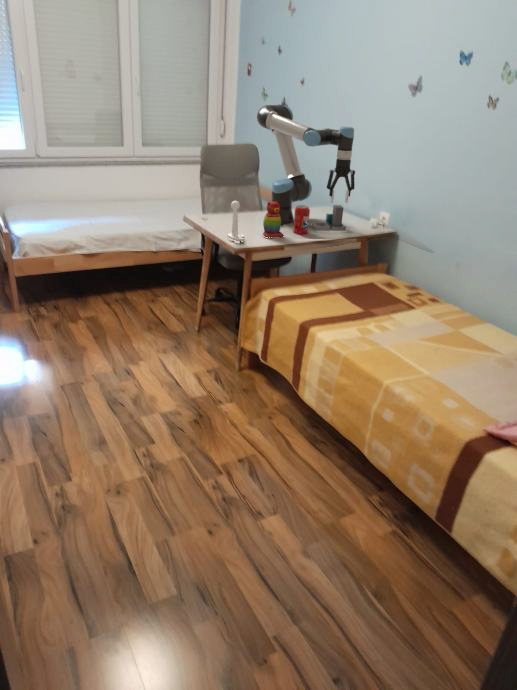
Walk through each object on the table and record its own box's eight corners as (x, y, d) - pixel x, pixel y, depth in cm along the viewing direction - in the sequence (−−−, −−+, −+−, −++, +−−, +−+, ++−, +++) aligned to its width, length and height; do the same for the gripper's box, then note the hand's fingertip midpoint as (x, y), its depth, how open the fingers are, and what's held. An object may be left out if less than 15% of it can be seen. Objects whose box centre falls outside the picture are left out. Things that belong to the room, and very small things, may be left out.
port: (331, 230, 288) (332, 219, 285) (325, 224, 299) (326, 213, 296) (345, 230, 289) (346, 219, 286) (338, 224, 300) (339, 213, 297)
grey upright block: (333, 229, 290) (336, 207, 284) (330, 226, 295) (333, 204, 290) (340, 229, 290) (343, 207, 285) (337, 226, 296) (340, 205, 290)
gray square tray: (317, 234, 284) (317, 228, 282) (309, 225, 298) (310, 220, 297) (347, 234, 286) (348, 228, 285) (338, 225, 301) (338, 220, 300)
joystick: (225, 238, 270) (226, 198, 260) (238, 236, 273) (239, 197, 264) (236, 244, 262) (237, 203, 252) (249, 242, 265) (250, 202, 256)
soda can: (291, 232, 284) (293, 204, 277) (305, 232, 286) (307, 204, 279) (295, 236, 277) (297, 208, 270) (309, 236, 279) (312, 208, 272)
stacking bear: (266, 239, 271) (268, 204, 263) (258, 233, 279) (260, 200, 271) (285, 237, 275) (287, 203, 267) (276, 232, 283) (278, 199, 275)
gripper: (327, 159, 270) (322, 203, 281) (364, 160, 274) (359, 204, 284) (323, 157, 277) (319, 200, 288) (360, 157, 280) (354, 201, 291)
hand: (338, 202), depth 286 cm, fingers open, 8 cm apart
